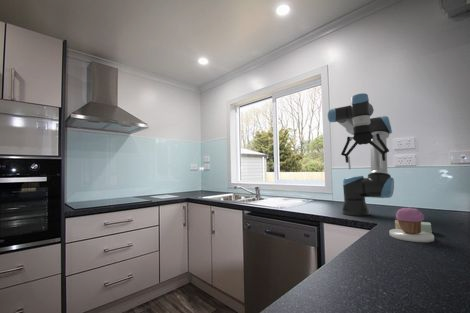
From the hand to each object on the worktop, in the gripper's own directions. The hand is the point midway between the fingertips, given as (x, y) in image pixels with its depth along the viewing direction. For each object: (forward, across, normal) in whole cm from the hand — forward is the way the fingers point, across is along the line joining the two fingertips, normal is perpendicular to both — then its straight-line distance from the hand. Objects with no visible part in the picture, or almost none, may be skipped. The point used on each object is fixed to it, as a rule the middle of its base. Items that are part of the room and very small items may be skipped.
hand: (365, 168), depth 109 cm
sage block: (+28, +20, -5) cm, 34 cm away
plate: (+27, +13, -15) cm, 34 cm away
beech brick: (+28, +12, -4) cm, 30 cm away
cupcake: (+26, +13, -14) cm, 33 cm away
